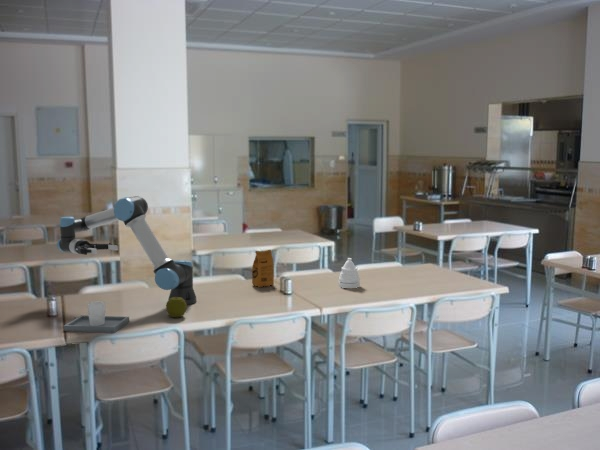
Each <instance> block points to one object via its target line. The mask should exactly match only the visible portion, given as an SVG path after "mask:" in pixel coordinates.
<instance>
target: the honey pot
mask: <svg viewBox="0 0 600 450" xmlns="http://www.w3.org/2000/svg"><path fill="white" fill-rule="evenodd" d="M358 269H359V268H358V267H357V266H356V265H355V263H354V262H353V261H352V257H347V260H346V261H345V263H344V264H343V266H341V271H340V274H339V277H338V288H339V287H343V288H356V287H359V286H360V284H361V283H360V280H361V278H360V275H359V272H358ZM343 288H342V289H343ZM359 288H360V287H359Z"/></svg>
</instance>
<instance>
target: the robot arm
mask: <svg viewBox="0 0 600 450" xmlns="http://www.w3.org/2000/svg"><path fill="white" fill-rule="evenodd" d="M148 210H149V204H148V202H147V200H146V199H145V198H143V197H142V196H139V195H137V196H136V195H135V196H127V197H126V196H125V197H123V198H119V199H118V200H116V202H115V203H114V206H113V207H112V208H108V209H106V210H102V211H98V212H96V213H95V212H94V213H93V214H89V215H85V216H83V217H80V218H75V217H74V216H62V217H60V218H59V232H60V238H59V239H58V240H57V242H56V248H57V249H58V250H59V252H61V253H62V252H63V253H68V254H75V255H88V254H91V255H98V250H109V251H118V250H119V245H116V244H113V243H111V242H109V243H90V242H89V241H88V240H85V239H76V234H77V233H80V232H87V231H89V230H91V229H95V228H98V227H102V226H105V225H109V224H111V223H115V222H118V221H122V222H123V223H124V225H125V227H127V228H129V229H130V230H131V231H132V232H133V234H134V236H135V238H136V239H137V241H138V242H139V244H140V246H141V247H142V249H143V251H144V253H145V254H146V257H147V258H148V259H149V261H150V262H151V264H152V265H153V268H152V269H153V270H152V272H153V273H154V274H155V275H154V281H155V284H156V286H157V287H158V288H160V289H161V290H164V291H170V293H169V295H168V300H169V299H170V298H173V297H181V298H183V299H184V300H185V302H186V304H187V305H192V304H195V303H196V302H197V295H196V292H195V290H194V289H195V288H194V277H193V276H194V271H193V268H194V265H193V262H192V261H191V260H180V259H179V260H176V259H175V260H173V259H172V258H169V256H167V254H166V251H165V250H164V249H163V247H162V245H161V244H160V242H159V240H158V239H157V237H156V236H155V233H154V232H153V231H152V229H151V227H150V225H149V224H148V222H147V220H146V217H147V216H146V214H147V212H148ZM168 300H167V301H168Z"/></svg>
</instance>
